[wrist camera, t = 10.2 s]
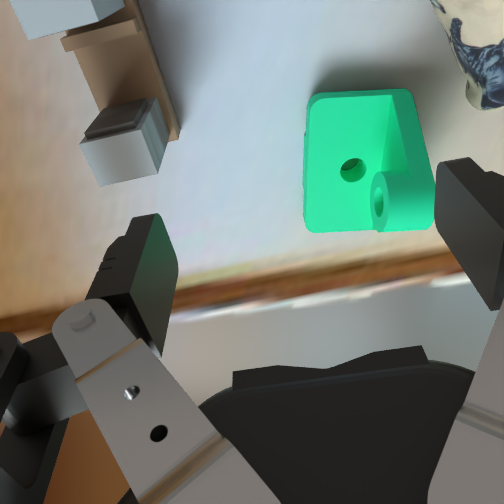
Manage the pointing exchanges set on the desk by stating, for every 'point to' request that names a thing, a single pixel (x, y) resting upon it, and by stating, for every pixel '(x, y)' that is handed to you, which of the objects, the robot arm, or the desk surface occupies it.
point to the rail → (123, 96)
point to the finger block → (61, 14)
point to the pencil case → (477, 47)
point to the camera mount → (366, 163)
